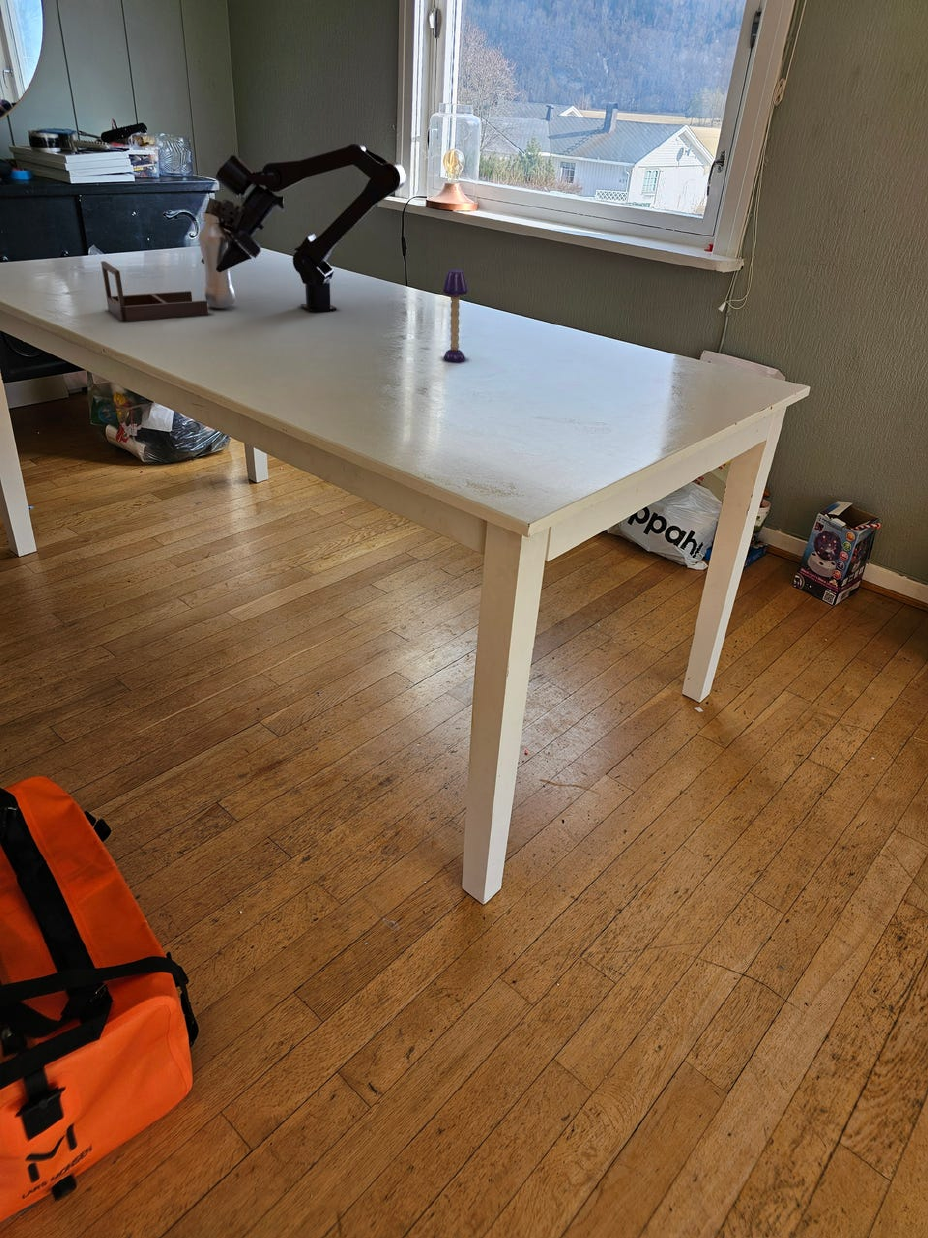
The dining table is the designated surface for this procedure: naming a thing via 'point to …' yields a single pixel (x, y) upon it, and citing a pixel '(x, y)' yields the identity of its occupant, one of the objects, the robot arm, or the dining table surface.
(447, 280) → the toy lamp
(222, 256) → the robot arm
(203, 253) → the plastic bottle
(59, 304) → the dining table surface
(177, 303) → the wooden divided caddy
